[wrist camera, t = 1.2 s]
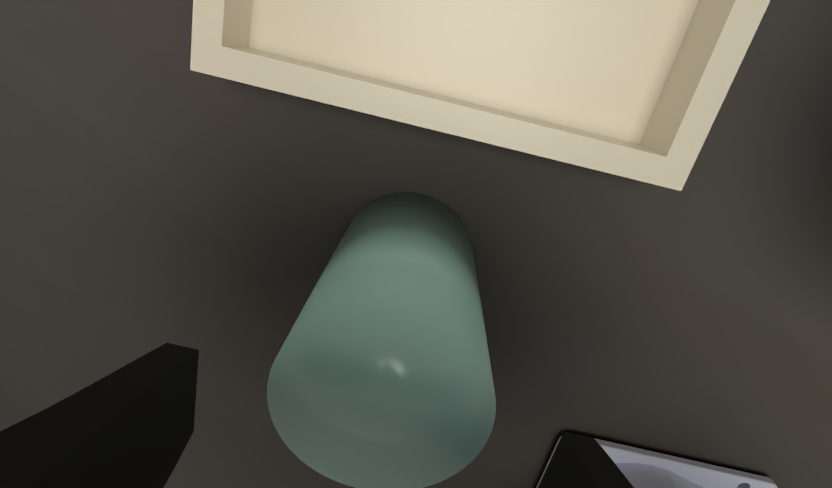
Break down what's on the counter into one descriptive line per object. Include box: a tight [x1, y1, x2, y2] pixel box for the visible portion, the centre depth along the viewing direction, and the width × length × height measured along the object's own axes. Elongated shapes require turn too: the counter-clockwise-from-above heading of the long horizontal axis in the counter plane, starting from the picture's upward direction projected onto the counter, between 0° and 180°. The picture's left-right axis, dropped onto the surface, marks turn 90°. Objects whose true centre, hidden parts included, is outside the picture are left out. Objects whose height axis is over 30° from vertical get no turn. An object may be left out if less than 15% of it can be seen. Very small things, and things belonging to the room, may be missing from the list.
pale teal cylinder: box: [267, 193, 496, 488], centre depth 14 cm, size 5×5×8 cm
